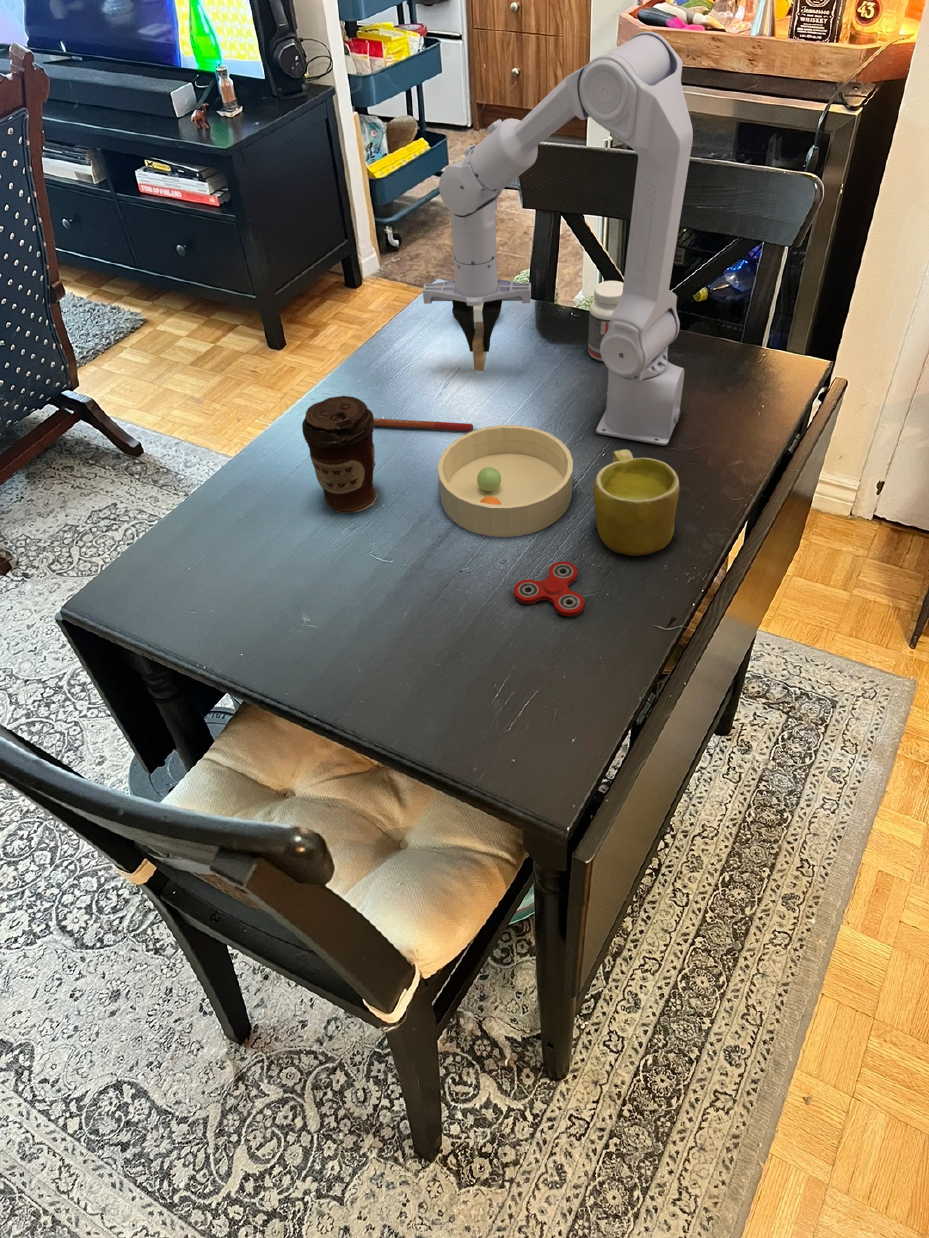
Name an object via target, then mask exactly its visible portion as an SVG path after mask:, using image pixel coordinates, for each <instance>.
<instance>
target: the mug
mask: <svg viewBox="0 0 929 1238" xmlns="http://www.w3.org/2000/svg"><path fill="white" fill-rule="evenodd" d="M679 493H680V480H679V476H678V474H677V473H676V471H675V469H673V468H672V467H671V466H670V465H669V464H668V463H666V462H664V461H661V460H659V459H655V458H651V457H633V453H632V452H631V451H630V450H629V449H625V448H624V449H619V450H614V451H613V452H612V462H611V463H610V464H607V465H605V466H604V467H602V468H601V469H600V470H599V471H598V472H597V474H596V475H595V478H594V483H593V504H594V511H595V517H596V518H595V521H596V528H597V529H596V530H597V532H598V535H599V538H600V540H601V541H602V542H603V544H604V545H605V546H606V547H607V548H608V549H609V550H611V551H612V552H614V553H616V554H622V555H626V556H629V557H640V556H648V555H651V554H653V553H655V552H657V551H658V552H659V551H661V550H663V549H664V548H665V547H666V546H667V545H669V544H670V542H671V540H672V538H673V536H674V532H675V520H676V519H675V518H676V511H677V508H678V507H677V506H678V501H679Z"/></svg>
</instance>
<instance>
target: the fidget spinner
mask: <svg viewBox="0 0 929 1238" xmlns="http://www.w3.org/2000/svg"><path fill="white" fill-rule="evenodd" d="M577 578H578V568H577V566H576V565H575V564H573V563H572V562H569V561H566V560H563V561H562V560H561V561H557V562H554V563H553V564H551V565H550V566H549V569H548V576H547V577H546V578H545V579H542V580H535V579H523V580H520V581H518V582H517V583H516V584H515V585H514V587H513V596H514V598H515V600H516V601H518V602H519V603H521V604H526V605H528V604H529V605H530V604H535V603H537V602H539V601H548V602H550V603H552V604H553V607H554V609H555V611H556V612H557V613H558V614H559V615H561V616H564V617H575V616H578V615H579V614H581V613H582V612H583V611H584V608H585V600H584V597H583V596H582V595H581V594H579V593H578V592H575V591H572V590H571V589H570V588H569V586H570V585H571V584H572V583H575V581H576V580H577Z"/></svg>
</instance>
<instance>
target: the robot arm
mask: <svg viewBox="0 0 929 1238" xmlns="http://www.w3.org/2000/svg"><path fill="white" fill-rule="evenodd" d="M683 63H684V62H683V60H682V59H681V57H680V56H679V55H678V53H677V52H676V51H675V49H674V48H673V47H672V46H671V45H670V43H669V41H667V39H666V38H664V37H663V36H662V35H661V34H659V33H657V32H654V31H649V30H648V31H641V32H638V33H637V34H635V35H633V36H632V37H631V38H629V40H627V41H625V42H624V43H622V44H620V45H619V46H617V47H615V48H614V49H612V50H609V51H608V52H607V53H604V54H601V55H598V56H596V57H594V58H593V59H591V60H590V61H589V62H588V63H587V64H586V65H584V66H582V67H580V68H579V69H577V70H575V71H573V72H572V73H570V74H568V75H567V76H566V77H565V78H564V79H562V80H561V81H560V82H559V83H558V84H557V85H556V86H555V87H554V88H553V89H552V90H551V91H550V92H549V93H548V94H546V96H544V98H543V99H542V100H541V101H540V102H538V104H537V105H536V106H535V107H534V108H532V109H531V111H529V112H528V114H526V116H524V117H523V118H522V119H521V120H520V119H517V118H506V119H504V120H502V119H497V120H495V121H494V122H492V123H491V124H490V125H489V126H487V129H486V131H488V135H487V136H485V137H484V138H483V139H482V140H481V141H480V142H479V143H477V145H476V144H472V145H469V146H468V147H467V148H466V149H465V150H464V155H465V156H464V158H463V159H461V160H459V161H458V162H456V163H453V164H450V165H448V166H446V167H445V168H444V171H443V172H442V174H441V175H440V177H439V180H438V191H439V195H440V199H441V201H442V203H443V204H444V206H445V207H446V208H447V209H448V210H449V214H450V228H451V243H452V255H453V270H454V279H451V280H444V281H439V282H432V283H424V284H423V288H422V297H423V304H425V305H427V304H428V305H430V304H432V303H433V302H452V301H453V304H452V309H451V313H452V315H453V318H454V319H455V320H456V321H457V324H459V326H460V328H461V330H462V332H463V334H464V337H465V339H466V342H467V345H468V349H469V352H470V353H473V344H472V343H473V337H474V331H475V326H476V325H475V323H474V308H473V306H480V305H482V303H483V302H484V304H483V309H482V317H483V326H484V352H487V353H489V352H490V348H491V337H492V335H493V331H494V328H495V326H496V324H497V321H498V319H499V317H500V314H501V311H502V306H503V305H502V304H503V302H522V304H531V299H532V283H531V282H519V281H512V280H507V279H501V278H498V253H497V252H498V251H497V250H498V249H497V221H496V220H497V219H496V211H497V210H498V199H499V197H500V196H501V194H502V193H503V190H504V189H505V188H506V187H507V186H508V185H510V184H511V183H513V181H515V180H516V179H517V178H518V177H520V176H521V175H522V174H523V173H525V172H526V171H527V170H528V169H530V168H531V167H532V166H533V165H534V164H535V163H536V161H537V159H538V153H539V147H538V145H540V144H541V143H542V142H544V141H545V140H547V139H548V138H549V137H550V136H552V135H553V134H554V133H555V132H556V131H559V130H560V129H561V128H562V127H563V126H565V125H566V124H567V123H568V122H569V121H571V120H572V119H573V118H575V117H577V118H578V119H579V120H582V121H585V120H587V119H588V118H591V119H592V120H593V121H594V122H595V123H596V124H598V125H599V126H601V127H602V128H603V129H605V130H606V131H608V132H609V133H610V134H612V135H613V136H614V137H615V138H617V139H619V140H620V141H621V142H623V143H624V144H625V145H627V147H630V149H632V150H633V151H634V152H635V153H636V155H637V166H636V174H635V184H634V191H633V200H632V206H631V207H632V208H631V216H630V217H631V218H630V226H629V232H628V233H629V234H628V242H627V250H626V258H625V269H624V276H623V283H624V284H623V293H622V295H621V297H620V300H619V302H618V304H617V305H616V307H615V309H614V312H613V314H612V316H611V318H610V326H609V329H608V331H607V333H606V334H605V336H604V337H603V339H602V341H601V344H600V353H601V357H602V360H603V361H602V362H603V363H604V365H605V367H606V368H607V370H608V371H607V372H608V374H607V375H608V376H607V388H606V389H607V390H606V395H607V396H606V404H605V405H606V407H605V408H606V409H605V411H604V413H603V415H602V417H601V419H600V421H599V423H598V425H597V427H596V430H595V432H596V434H598V435H603V436H609V437H613V438H619V439H624V440H631V441H636V442H642V443H646V444H647V443H648V444H653V445H658V446H664V447H665V446H668V445H669V442H670V439H671V437H672V434H673V431H674V430H675V427H676V425H677V423H678V422H679V418H680V415H681V403H682V397H683V396H682V395H683V389H684V388H683V387H684V380H685V368H684V367H681V366H678V365H675V364H673V363H671V362H669V361H668V350H669V345H671V344H672V343H673V342H674V341H675V340H676V339H677V337H678V335H679V332H680V328H681V327H680V326H681V323H680V319H679V316H678V312H677V311H678V310H677V301H678V296H677V294H676V293H674V292H673V291H671V289H670V285H671V279H672V273H673V272H672V271H673V267H674V259H675V254H676V247H677V242H678V235H679V229H680V222H681V216H682V210H683V204H684V203H683V202H684V197H685V190H686V184H687V178H688V172H689V167H690V166H689V165H690V159H691V152H692V147H693V141H694V137H693V136H694V129H693V124H692V121H691V115H690V113H689V109H688V105H687V100H686V97H685V93H684V89H683V84H682V75H683V74H682V72H683V65H684V64H683Z"/></svg>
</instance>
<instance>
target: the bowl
mask: <svg viewBox="0 0 929 1238" xmlns="http://www.w3.org/2000/svg"><path fill="white" fill-rule="evenodd" d="M572 457H573V456H572V454H571V451H570V449H569V448H568V447H567V446H566V445H565V444H564V443H563V441H562V440H560V439H559V438H557V437H556V436H554V435H553V434H552V433H549V432H547V431H544V430H542V429H539V428H536V427H531V426H526V425H520V424H499V425H491V426H485V427H481V428H478V429H475V430H472V431H468V432H467V433H466V434H463V435H462V436H460V437H457V438H456V439H455V440H454V441H452V442H451V443H450V444H448V446H447V447H446V448H445V449H444V451H443V452H442V454H441V455H440V457H439V460H438V465H437V476H438V477H437V478H438V486H439V494H440V501H441V505H442V508H443V510H444V512H445V513H446V514H447V516H448V518H449V519H451V521H452V522H454V523H455V524H457V525H458V526H459V527H461V528H463V529H464V530H467V531H469V532H472V533H474V534H478V535H482V536H486V537H495V538H512V537H520V536H525V535H530V534H533V533H537V532H539V531H542V530H544V529H546V528H547V527H549V526H551V525H553V524H554V523H556V522H557V521H558V520H559V519H561V518H562V516H563V515H564V514H565V513H566V512H567V510H568V509H569V507H570V505H571V502H572V495H573V479H574V478H573V474H574V460H573V458H572ZM486 467H492V468H495V469H496V470H498V471H499V473H500V475H501V484H500V486H499V487H498V488H497V489H496V490H494V491H492V492H487V491H484V490H482V489H481V488H480V487H479V485H478V483H477V476H478V474H479V472H480V471H481V470H482V469H483V468H486ZM488 496H492V497H495V498H497V499H498V500H499V501H500V502H501V504H502V505H494V504H487V503H482V502H480V501H481V500H482V499H483V498H485V497H488Z"/></svg>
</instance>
